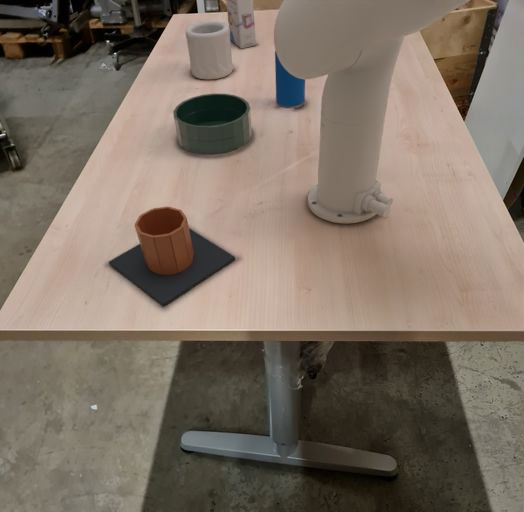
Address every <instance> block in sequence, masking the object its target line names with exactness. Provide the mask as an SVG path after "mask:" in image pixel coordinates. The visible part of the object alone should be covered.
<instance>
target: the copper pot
mask: <svg viewBox="0 0 524 512" xmlns="http://www.w3.org/2000/svg"><path fill="white" fill-rule="evenodd" d="M134 228H135V232H136V236H137V238H138V241H139V244H140V245H141V249H142V252H143V255H144V259H145V261H146V263H147V266H148V268H149V269H150V270H151V271H152V272H154V273H157V274H161V275H172V274H176V273H179V272H182V271H183V270H185V269H187V268H188V267H189V266H190V265H191V263H192V261H193V255H194V252H193V247H192V242H191V237H190V231H189V228H190V227H189V222H188V217H187V215H186V214H185V213H184V212H183V210H182V209H179V208H176V207H171V206H160V207H153V208H150V209H149V210H147V211H145V212H143V213H141V214H140V215H138V218H137V220H136V221H135V223H134Z"/></svg>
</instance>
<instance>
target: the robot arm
mask: <svg viewBox="0 0 524 512" xmlns="http://www.w3.org/2000/svg"><path fill="white" fill-rule="evenodd" d="M470 1H471V0H283V1H282V3H281V5H280V6H279V9H278V11H277V14H276V17H275V23H274V28H273V43H274V49H275V50H276V53H277V56H278V59H279V61H280V63H281V64H282V66H283V67H284V68H285V69H286V70H287V71H288V72H289V73H290V74H291V75H293V76H295V77H297V78H300V79H305V80H312V79H317V78H321V77H324V76H327V77H326V79H325V82H324V86H323V90H322V94H321V104H320V120H319V122H320V123H319V142H318V143H319V144H318V166H317V167H318V168H317V184H315V185H314V186H313V187H312V188H311V189H310V191H309V192H308V195H307V204H308V205H307V206H308V208H309V210H310V211H311V212H312V213H313V214H314V215H315V216H317V217H319V218H320V219H322V220H325V221H327V222H330V223H336V224H356V223H362V222H364V221H368V220H369V219H372V218H373V217H375V216H380V217H382V218H387V217H388V216H390V213H391V211H392V207H391V205H392V204H393V202H394V201H393V200H394V199H393V197H390V196H388V195H384V194H382V192H381V188H382V181H380V180H377V175H378V168H379V164H380V163H379V162H380V154H381V147H382V141H383V135H384V127H385V121H386V120H385V119H386V113H387V109H388V103H389V95H390V91H391V90H390V89H391V85H392V79H393V74H394V71H395V68H396V64H397V60H398V57H399V55H400V51H401V48H402V45H403V42H404V39H405V37H407V36H410V35H412V34H415V33H418V32H420V31H422V30H425V29H426V28H429V27H430V26H432V25H433V24H435V23H436V22H438V21H439V20H441V19H442V18H444V17H445V16H447V15H448V14H450V13H452V12H453V11H455V10H457V9H458V8H460V7H462V6H464V5H465V4H467V3H468V2H470Z"/></svg>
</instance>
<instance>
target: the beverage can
mask: <svg viewBox="0 0 524 512" xmlns="http://www.w3.org/2000/svg"><path fill="white" fill-rule="evenodd" d="M274 67H275V68H274V69H275V70H274V71H275V101H276V104H277V105H278V106H280V107H282V108H292V109H297V108H300V107H301V106H302V105H303V104H304V103H305V101H306V79H300V78H297V77H295V76H293V75H291V74H290V73H289V72H288V71H287V70H286V69H285V68H284V67H283V66H282V64H281V63H280V61H279V59H278V56H277V53H276V50H275V51H274Z"/></svg>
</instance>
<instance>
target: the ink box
mask: <svg viewBox="0 0 524 512" xmlns="http://www.w3.org/2000/svg"><path fill="white" fill-rule="evenodd" d="M225 4H226V13H227V21H228V23H227V24H228V26H229V28H230V42H232V43H234V45H236V46H237V47H239V49H241V50H242V49H246V48H250V47H254V46H257V38H256V37H257V36H256V24H255V23H256V21H255V7H254V0H225Z"/></svg>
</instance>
